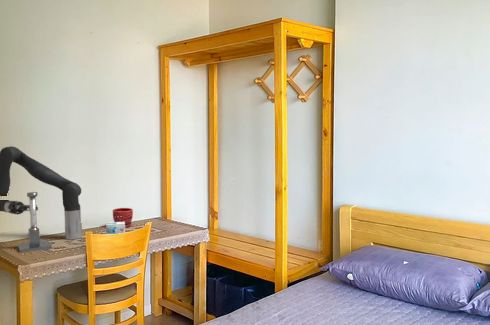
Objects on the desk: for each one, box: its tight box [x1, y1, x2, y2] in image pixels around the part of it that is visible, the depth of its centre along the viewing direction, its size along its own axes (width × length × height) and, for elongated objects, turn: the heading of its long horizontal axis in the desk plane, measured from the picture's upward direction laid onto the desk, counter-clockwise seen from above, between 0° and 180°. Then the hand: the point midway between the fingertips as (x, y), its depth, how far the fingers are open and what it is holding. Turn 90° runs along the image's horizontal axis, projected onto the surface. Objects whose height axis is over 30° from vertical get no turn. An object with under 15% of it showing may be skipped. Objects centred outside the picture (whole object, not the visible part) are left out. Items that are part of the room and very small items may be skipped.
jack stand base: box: [17, 227, 53, 253], centre depth 259 cm, size 16×16×10 cm
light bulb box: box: [105, 221, 126, 234], centre depth 272 cm, size 11×7×11 cm, turn 105°
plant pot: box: [112, 207, 134, 229], centre depth 312 cm, size 13×13×12 cm
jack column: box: [26, 191, 38, 230], centre depth 258 cm, size 5×5×24 cm
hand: (29, 209), depth 259 cm, fingers open, 8 cm apart
